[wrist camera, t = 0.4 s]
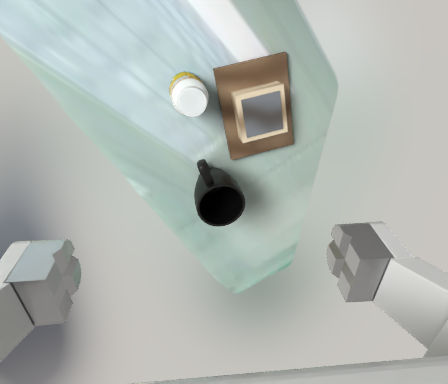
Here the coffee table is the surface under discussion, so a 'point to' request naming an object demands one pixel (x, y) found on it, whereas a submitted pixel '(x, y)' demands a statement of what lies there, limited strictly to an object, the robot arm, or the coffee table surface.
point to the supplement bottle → (188, 94)
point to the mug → (217, 196)
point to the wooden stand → (255, 104)
